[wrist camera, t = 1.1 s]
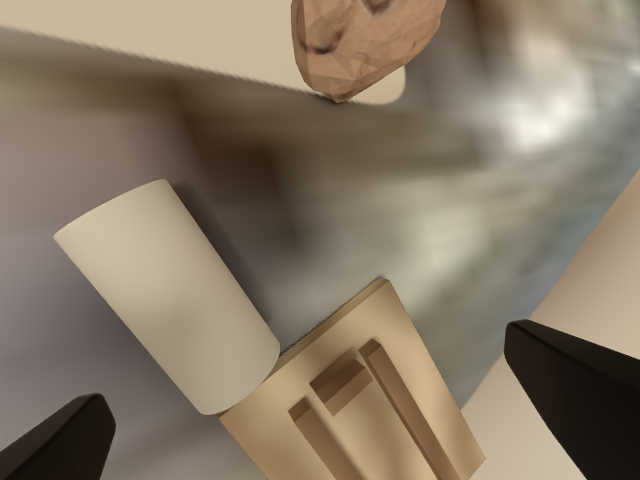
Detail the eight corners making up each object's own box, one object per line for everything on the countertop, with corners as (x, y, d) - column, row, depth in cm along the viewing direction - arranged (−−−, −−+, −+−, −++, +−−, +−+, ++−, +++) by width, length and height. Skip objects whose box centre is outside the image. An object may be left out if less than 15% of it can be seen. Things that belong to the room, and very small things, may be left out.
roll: (277, 325, 20) (284, 374, 15) (205, 370, 19) (187, 436, 14) (176, 177, 17) (144, 178, 12) (91, 227, 17) (22, 247, 12)
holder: (358, 581, 24) (386, 640, 20) (216, 407, 19) (223, 447, 16) (473, 449, 27) (513, 480, 24) (379, 277, 23) (412, 287, 19)
